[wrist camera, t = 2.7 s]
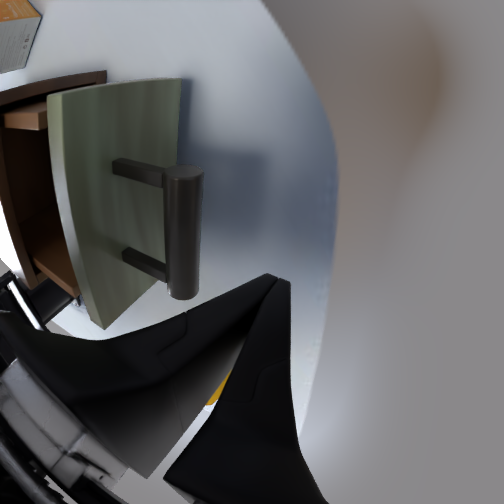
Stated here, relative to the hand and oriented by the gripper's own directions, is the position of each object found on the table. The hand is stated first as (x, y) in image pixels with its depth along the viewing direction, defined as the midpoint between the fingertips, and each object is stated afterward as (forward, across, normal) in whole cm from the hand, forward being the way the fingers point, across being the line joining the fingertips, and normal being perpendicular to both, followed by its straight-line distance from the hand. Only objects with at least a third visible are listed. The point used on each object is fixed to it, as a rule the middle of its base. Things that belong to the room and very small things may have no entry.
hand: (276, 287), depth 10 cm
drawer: (+5, +12, 0) cm, 13 cm away
